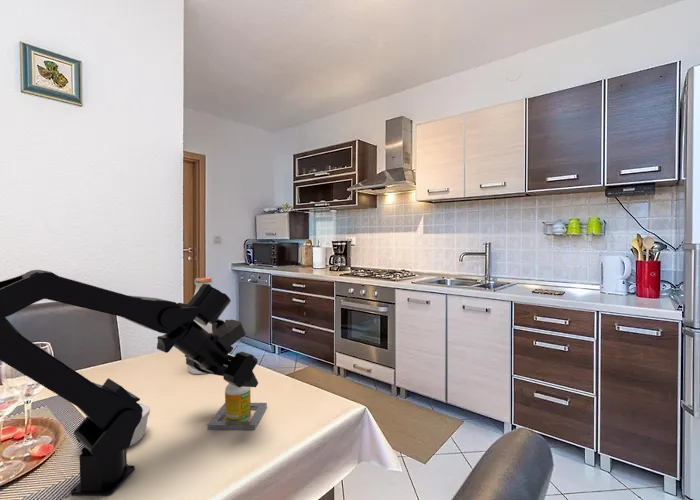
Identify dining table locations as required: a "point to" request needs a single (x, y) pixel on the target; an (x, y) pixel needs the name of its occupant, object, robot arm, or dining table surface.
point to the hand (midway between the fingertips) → (243, 379)
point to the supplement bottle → (237, 403)
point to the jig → (237, 425)
